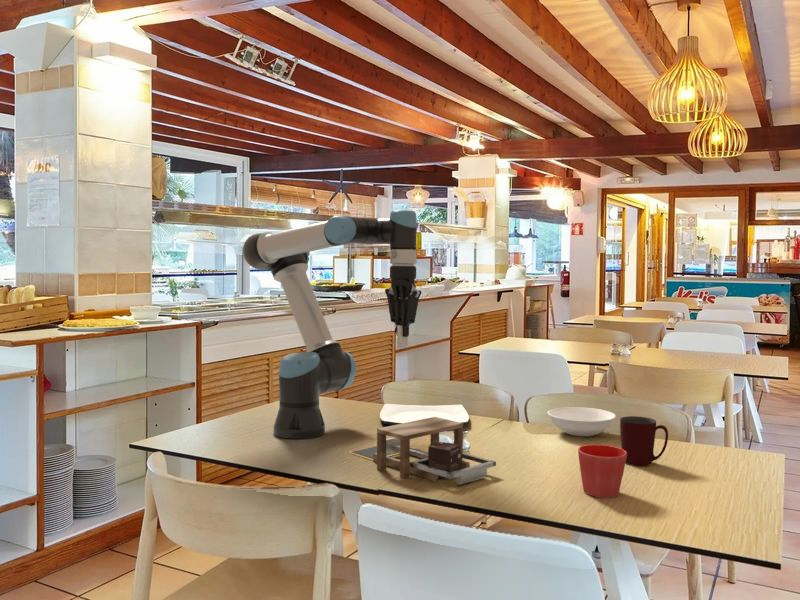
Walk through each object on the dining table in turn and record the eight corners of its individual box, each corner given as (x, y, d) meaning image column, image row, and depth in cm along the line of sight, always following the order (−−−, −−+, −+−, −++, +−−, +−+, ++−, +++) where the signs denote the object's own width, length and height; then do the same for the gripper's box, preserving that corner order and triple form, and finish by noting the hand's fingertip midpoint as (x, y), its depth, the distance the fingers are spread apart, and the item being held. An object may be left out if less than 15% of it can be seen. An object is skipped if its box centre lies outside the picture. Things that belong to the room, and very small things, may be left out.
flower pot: (636, 495, 169) (637, 452, 169) (602, 503, 163) (603, 459, 163) (600, 482, 178) (601, 441, 177) (566, 490, 172) (567, 448, 172)
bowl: (591, 425, 237) (591, 405, 237) (629, 440, 218) (630, 418, 218) (534, 429, 231) (535, 408, 231) (569, 445, 212) (569, 422, 212)
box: (449, 480, 179) (449, 450, 178) (427, 476, 182) (427, 446, 181) (461, 474, 184) (461, 444, 184) (439, 470, 187) (439, 441, 187)
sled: (367, 460, 193) (367, 443, 193) (412, 449, 204) (412, 433, 204) (450, 487, 172) (450, 467, 172) (495, 473, 183) (496, 455, 182)
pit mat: (348, 452, 202) (348, 451, 202) (381, 445, 210) (381, 444, 210) (372, 460, 195) (372, 459, 195) (406, 452, 203) (406, 451, 203)
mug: (671, 463, 195) (672, 420, 194) (661, 471, 188) (663, 427, 187) (625, 455, 202) (626, 414, 201) (614, 463, 194) (615, 420, 194)
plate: (472, 431, 229) (472, 422, 229) (377, 430, 229) (377, 421, 229) (465, 411, 257) (465, 403, 257) (381, 410, 258) (381, 402, 258)
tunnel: (361, 464, 192) (361, 424, 191) (418, 450, 205) (419, 413, 205) (422, 484, 175) (422, 440, 175) (480, 467, 189) (480, 427, 189)
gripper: (378, 264, 216) (377, 346, 218) (409, 265, 207) (408, 351, 208) (397, 264, 221) (396, 344, 223) (428, 265, 212) (427, 349, 214)
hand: (402, 347), depth 216 cm, fingers closed
